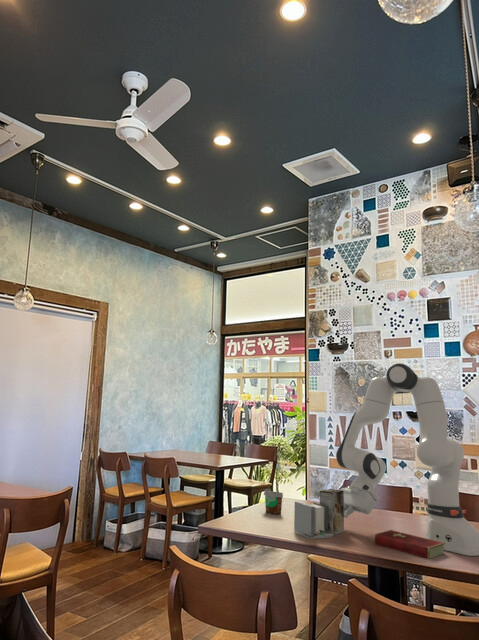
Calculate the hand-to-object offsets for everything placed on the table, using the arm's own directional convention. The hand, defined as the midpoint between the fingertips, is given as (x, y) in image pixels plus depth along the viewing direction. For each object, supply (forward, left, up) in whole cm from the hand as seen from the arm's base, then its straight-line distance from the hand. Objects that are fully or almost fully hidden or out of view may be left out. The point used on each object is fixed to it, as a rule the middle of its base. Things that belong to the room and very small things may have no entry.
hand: (343, 516), depth 186 cm
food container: (+40, +10, -6) cm, 41 cm away
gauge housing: (0, +15, -6) cm, 16 cm away
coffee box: (0, +6, -6) cm, 8 cm away
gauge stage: (-1, +14, -4) cm, 14 cm away
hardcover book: (-28, -6, -7) cm, 30 cm away
